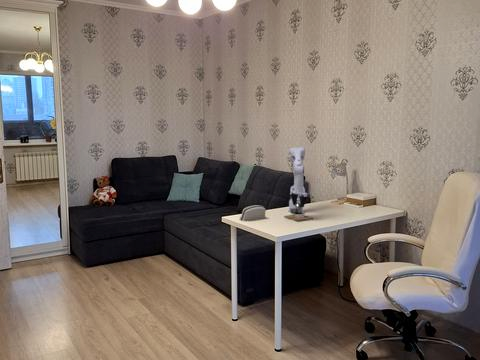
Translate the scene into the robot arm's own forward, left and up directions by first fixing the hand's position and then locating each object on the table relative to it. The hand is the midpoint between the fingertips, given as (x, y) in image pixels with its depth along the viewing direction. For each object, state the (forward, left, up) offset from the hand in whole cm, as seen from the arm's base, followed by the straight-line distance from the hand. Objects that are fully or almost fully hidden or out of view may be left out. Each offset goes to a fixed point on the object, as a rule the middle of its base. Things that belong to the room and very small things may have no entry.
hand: (298, 206), depth 269 cm
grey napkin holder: (-15, -25, -8) cm, 30 cm away
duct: (0, 0, -8) cm, 8 cm away
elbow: (0, -2, -7) cm, 7 cm away
